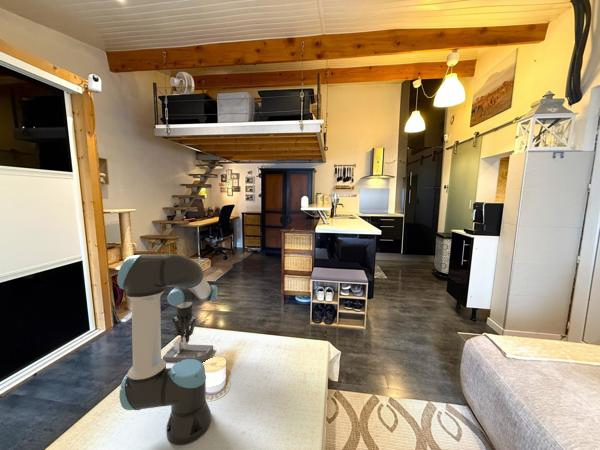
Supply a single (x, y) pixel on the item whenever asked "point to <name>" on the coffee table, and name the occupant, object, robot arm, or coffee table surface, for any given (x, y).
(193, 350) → the console
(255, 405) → the coffee table surface
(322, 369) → the coffee table surface
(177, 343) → the fader
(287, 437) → the coffee table surface
